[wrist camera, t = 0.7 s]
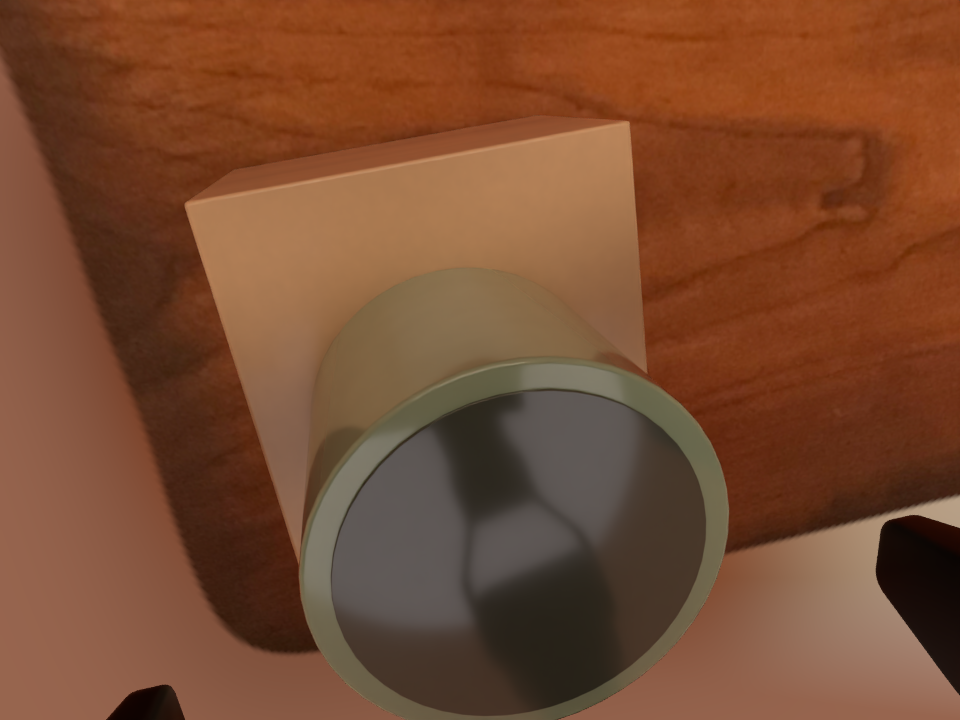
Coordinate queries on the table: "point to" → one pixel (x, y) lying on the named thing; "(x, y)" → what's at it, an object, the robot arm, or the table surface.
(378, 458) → the cup
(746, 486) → the table surface
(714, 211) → the table surface
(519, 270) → the riser
